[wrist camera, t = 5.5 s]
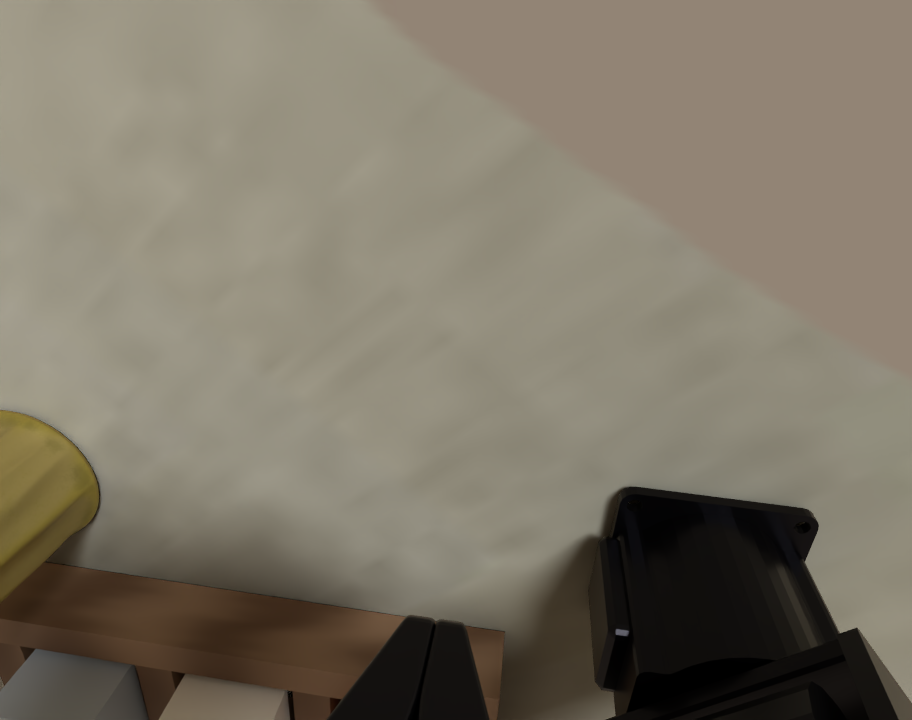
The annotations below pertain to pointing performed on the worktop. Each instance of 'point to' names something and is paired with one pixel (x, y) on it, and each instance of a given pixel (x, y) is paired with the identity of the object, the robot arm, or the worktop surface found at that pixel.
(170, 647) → the three-slot wooden rack
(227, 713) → the cream cube block
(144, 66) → the worktop surface
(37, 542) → the vase
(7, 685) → the grey cube
